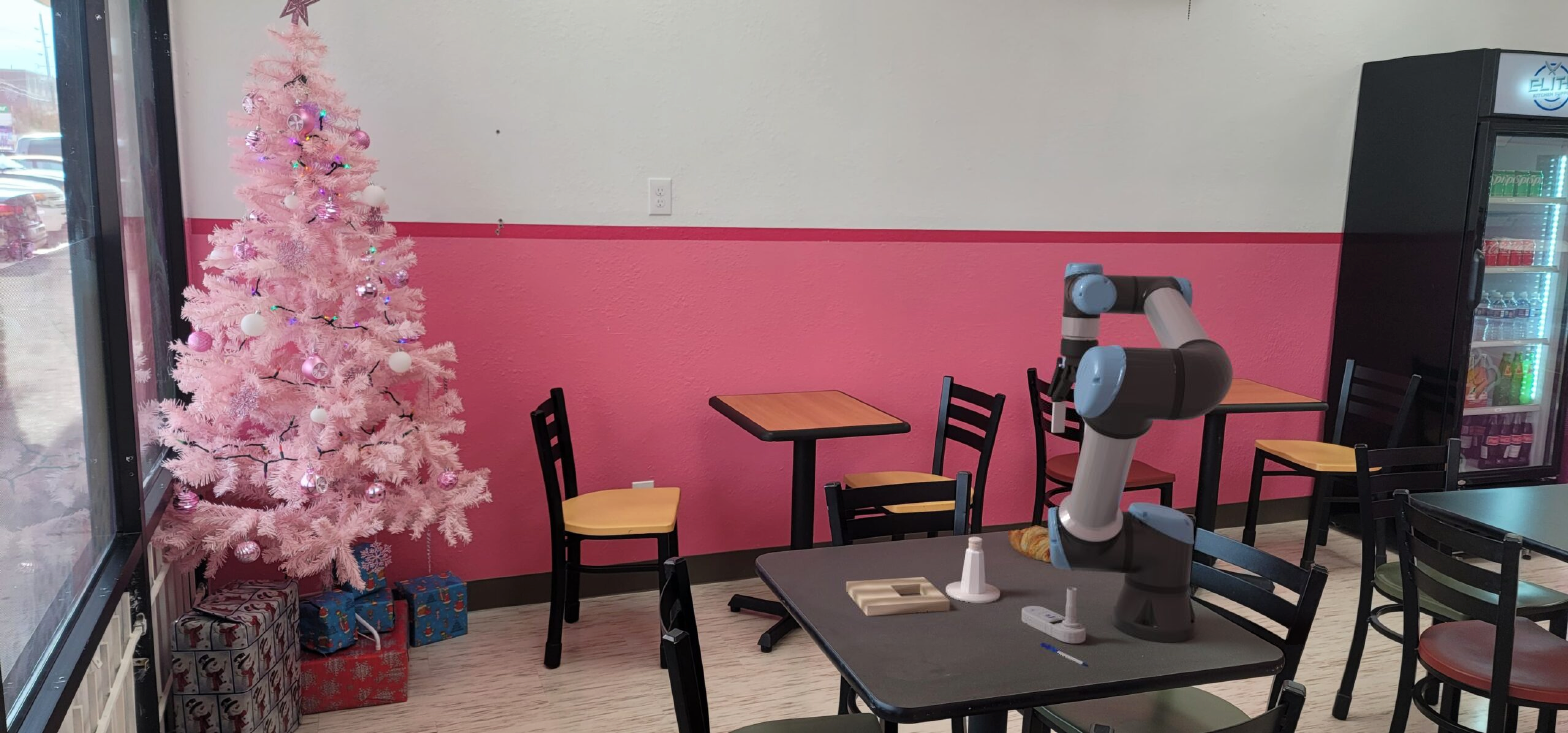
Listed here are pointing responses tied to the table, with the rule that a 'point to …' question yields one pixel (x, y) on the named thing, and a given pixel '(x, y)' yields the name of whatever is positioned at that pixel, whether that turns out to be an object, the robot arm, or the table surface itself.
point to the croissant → (1031, 542)
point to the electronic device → (1057, 620)
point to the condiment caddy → (896, 596)
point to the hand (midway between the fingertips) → (1073, 438)
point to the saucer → (957, 594)
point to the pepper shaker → (974, 568)
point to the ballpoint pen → (1062, 653)
